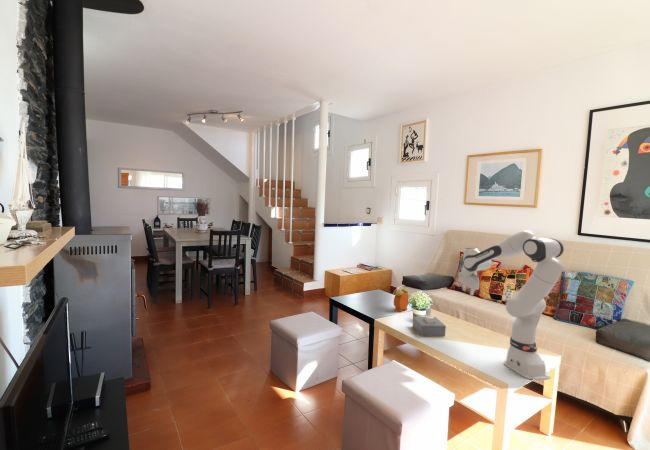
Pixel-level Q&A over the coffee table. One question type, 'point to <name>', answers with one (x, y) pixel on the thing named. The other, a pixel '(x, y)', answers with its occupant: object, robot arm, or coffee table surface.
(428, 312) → the small box
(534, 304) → the robot arm
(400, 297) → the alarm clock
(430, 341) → the coffee table surface
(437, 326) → the socket block
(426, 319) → the plug peg
